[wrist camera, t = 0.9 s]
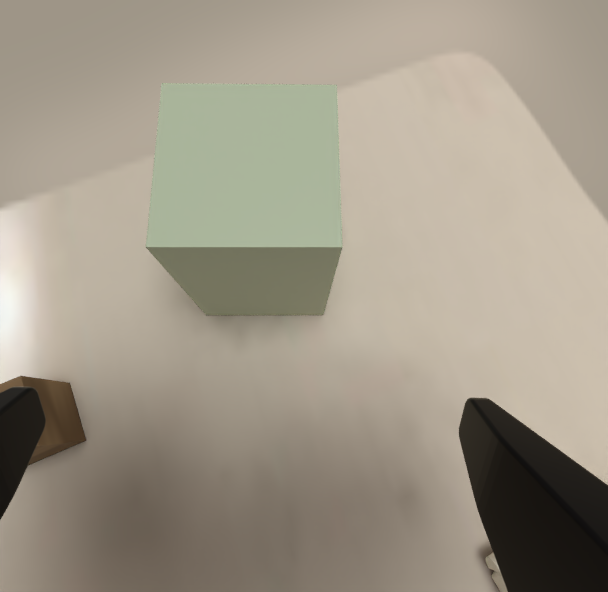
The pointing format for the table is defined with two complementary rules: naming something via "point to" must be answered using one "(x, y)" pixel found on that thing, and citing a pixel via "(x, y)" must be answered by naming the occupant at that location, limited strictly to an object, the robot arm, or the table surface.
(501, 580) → the white creature statuette
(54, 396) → the brown box
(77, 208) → the table surface
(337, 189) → the mint green pillar
